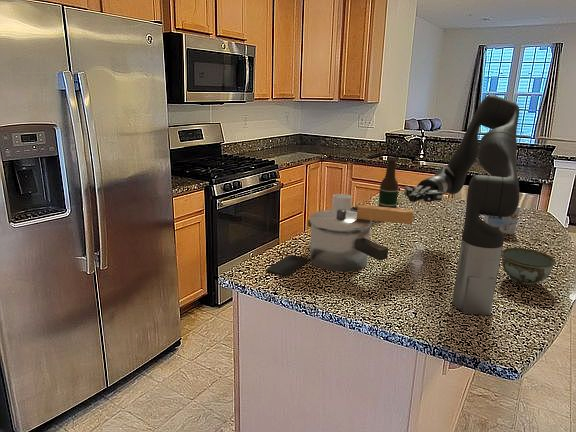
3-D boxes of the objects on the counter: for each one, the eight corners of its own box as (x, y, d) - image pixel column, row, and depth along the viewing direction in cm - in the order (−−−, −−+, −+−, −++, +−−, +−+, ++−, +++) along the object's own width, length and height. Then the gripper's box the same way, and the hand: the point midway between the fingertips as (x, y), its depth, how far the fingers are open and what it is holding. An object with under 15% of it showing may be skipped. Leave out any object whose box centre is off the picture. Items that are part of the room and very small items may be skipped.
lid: (303, 228, 126) (303, 208, 124) (318, 211, 143) (319, 194, 141) (410, 241, 117) (412, 220, 116) (412, 222, 134) (414, 203, 133)
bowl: (503, 268, 132) (508, 243, 130) (553, 280, 124) (559, 255, 122) (491, 282, 122) (496, 256, 120) (544, 297, 114) (551, 269, 112)
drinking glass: (348, 239, 154) (351, 198, 150) (329, 237, 156) (331, 197, 151) (349, 233, 161) (352, 194, 156) (331, 231, 162) (333, 193, 158)
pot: (292, 251, 141) (293, 216, 138) (335, 242, 150) (337, 209, 147) (356, 289, 115) (360, 248, 112) (403, 276, 125) (408, 237, 121)
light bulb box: (485, 231, 167) (490, 205, 164) (482, 226, 173) (486, 200, 170) (515, 234, 165) (520, 207, 161) (511, 229, 171) (515, 203, 168)
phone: (310, 259, 134) (286, 275, 122) (310, 261, 135) (286, 278, 122) (290, 254, 138) (264, 269, 125) (289, 256, 138) (264, 272, 126)
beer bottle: (376, 214, 186) (381, 159, 179) (378, 210, 193) (383, 157, 186) (395, 216, 183) (400, 161, 177) (396, 212, 191) (401, 158, 184)
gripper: (414, 174, 145) (392, 183, 132) (454, 180, 137) (435, 190, 124) (412, 195, 147) (390, 206, 134) (451, 202, 139) (432, 214, 126)
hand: (411, 198), depth 129 cm, fingers closed
